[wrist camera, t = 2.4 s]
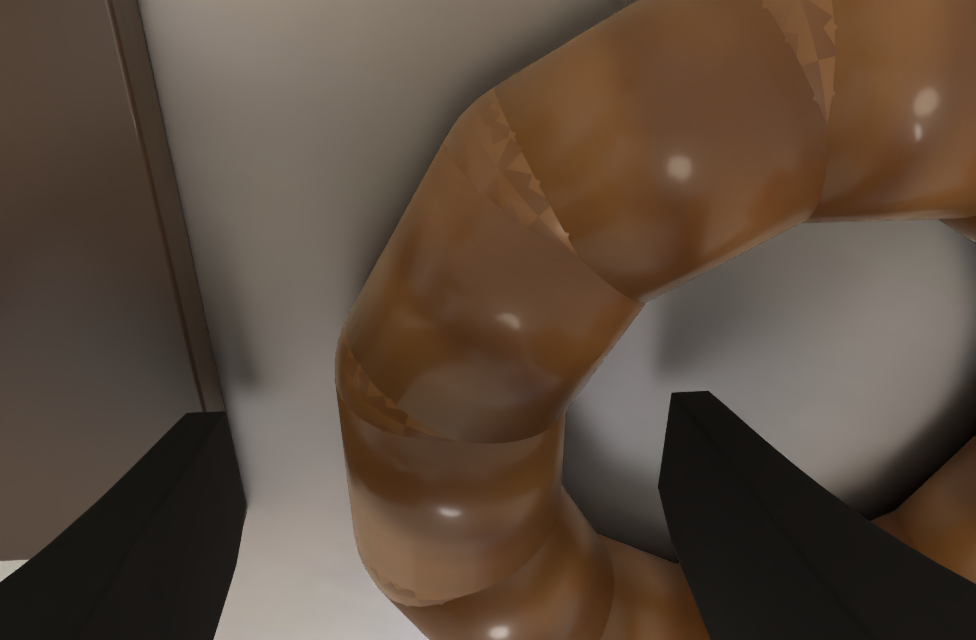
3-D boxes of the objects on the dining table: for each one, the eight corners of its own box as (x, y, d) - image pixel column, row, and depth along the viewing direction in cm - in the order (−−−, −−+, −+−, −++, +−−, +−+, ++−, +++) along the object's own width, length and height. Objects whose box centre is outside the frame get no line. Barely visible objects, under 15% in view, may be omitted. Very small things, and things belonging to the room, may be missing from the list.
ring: (1007, 616, 19) (1119, 762, 16) (382, 653, 18) (374, 814, 15) (1355, -81, 11) (1703, -61, 8) (304, -73, 11) (253, -47, 7)
